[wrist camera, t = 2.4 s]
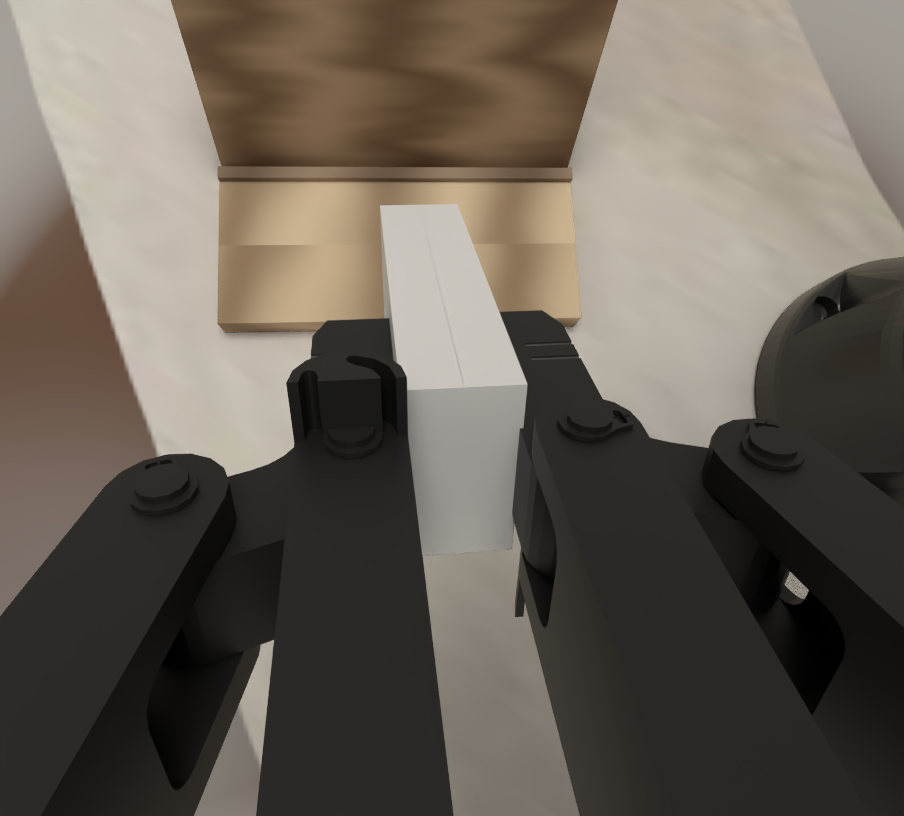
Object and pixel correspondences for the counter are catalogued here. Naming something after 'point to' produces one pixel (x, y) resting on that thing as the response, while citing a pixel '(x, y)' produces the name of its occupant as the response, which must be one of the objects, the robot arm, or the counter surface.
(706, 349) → the counter surface
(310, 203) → the laid floorboards
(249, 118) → the board
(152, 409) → the counter surface
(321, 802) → the robot arm
